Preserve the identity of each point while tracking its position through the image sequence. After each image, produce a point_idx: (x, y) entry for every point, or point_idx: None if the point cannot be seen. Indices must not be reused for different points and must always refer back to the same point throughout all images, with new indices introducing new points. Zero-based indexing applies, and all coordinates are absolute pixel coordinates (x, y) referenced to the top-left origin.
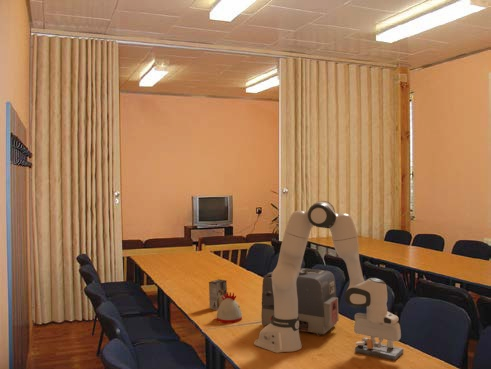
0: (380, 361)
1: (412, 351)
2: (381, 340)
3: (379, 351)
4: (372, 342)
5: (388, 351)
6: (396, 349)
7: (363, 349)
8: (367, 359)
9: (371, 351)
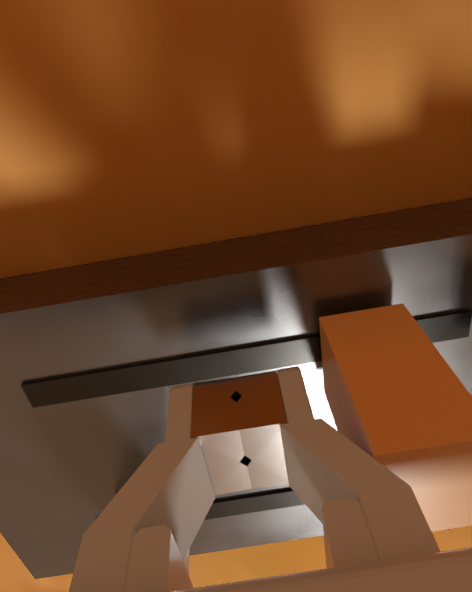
0: (12, 107)
1: (22, 584)
2: (83, 542)
3: (172, 338)
4: (350, 438)
5: (76, 420)
6: (58, 520)
7: (447, 236)
8: (241, 15)
9: (287, 262)
